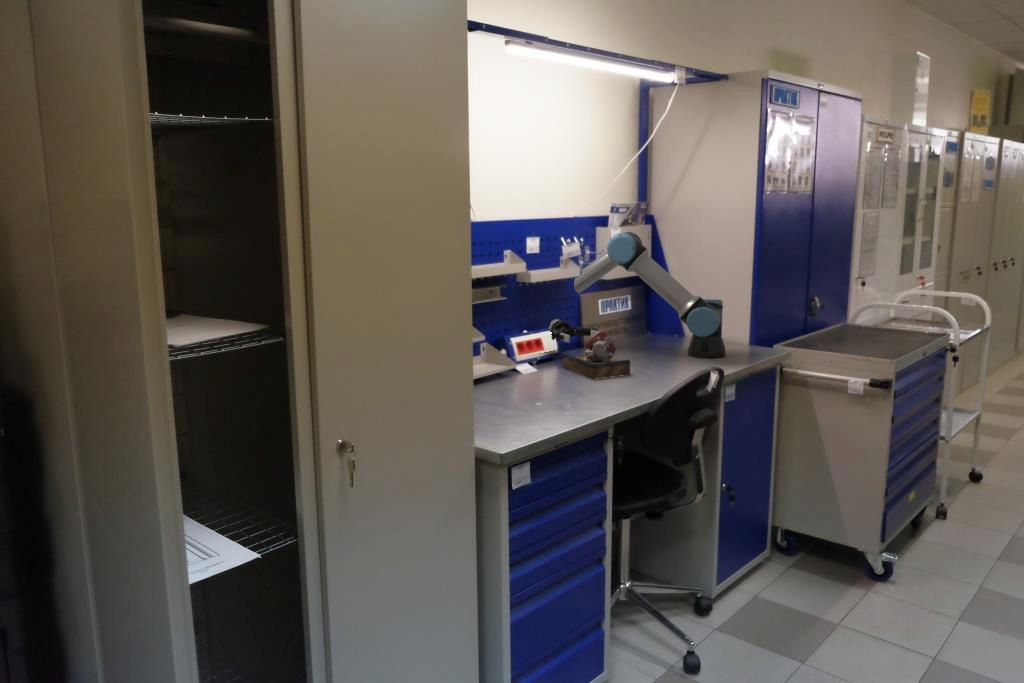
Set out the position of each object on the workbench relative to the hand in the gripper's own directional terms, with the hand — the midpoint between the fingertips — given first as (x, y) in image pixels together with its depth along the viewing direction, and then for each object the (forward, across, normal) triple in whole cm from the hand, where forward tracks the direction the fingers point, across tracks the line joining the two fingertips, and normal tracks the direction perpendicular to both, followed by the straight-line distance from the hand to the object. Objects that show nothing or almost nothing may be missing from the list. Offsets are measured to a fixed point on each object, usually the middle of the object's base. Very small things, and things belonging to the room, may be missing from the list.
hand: (584, 337), depth 287 cm
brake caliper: (+11, 0, -7) cm, 13 cm away
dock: (+9, 0, -12) cm, 14 cm away
